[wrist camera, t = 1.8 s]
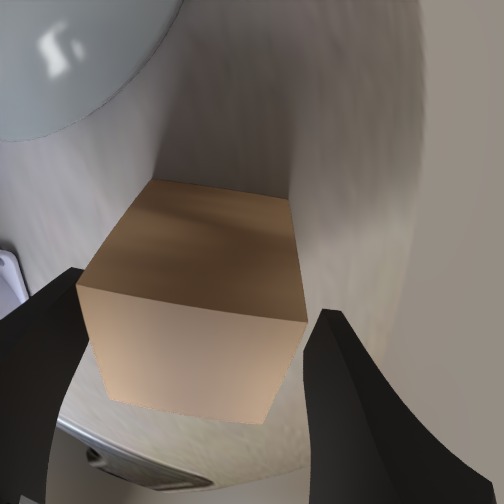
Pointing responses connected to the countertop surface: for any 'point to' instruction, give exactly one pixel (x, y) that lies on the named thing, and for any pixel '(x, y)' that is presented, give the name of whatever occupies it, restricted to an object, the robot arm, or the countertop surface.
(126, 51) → the slate dish
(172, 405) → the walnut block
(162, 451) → the countertop surface
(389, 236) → the countertop surface
